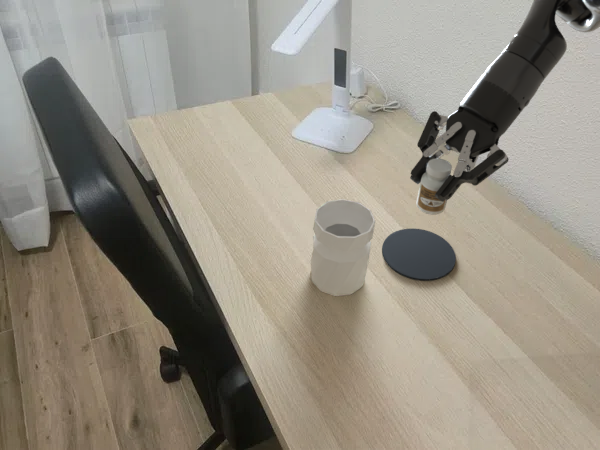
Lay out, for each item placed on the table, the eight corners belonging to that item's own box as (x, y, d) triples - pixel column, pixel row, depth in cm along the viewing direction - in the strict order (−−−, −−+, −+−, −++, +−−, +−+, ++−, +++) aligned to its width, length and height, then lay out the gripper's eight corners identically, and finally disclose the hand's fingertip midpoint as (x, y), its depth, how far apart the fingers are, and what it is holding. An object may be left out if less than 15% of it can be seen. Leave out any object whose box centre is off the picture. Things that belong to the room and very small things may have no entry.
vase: (299, 269, 87) (301, 211, 79) (343, 249, 91) (350, 192, 83) (331, 305, 82) (337, 246, 74) (377, 282, 86) (387, 224, 78)
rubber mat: (443, 228, 96) (443, 226, 95) (465, 278, 87) (465, 277, 86) (375, 231, 95) (375, 229, 94) (390, 282, 86) (391, 281, 85)
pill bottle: (414, 213, 83) (423, 171, 78) (417, 195, 86) (425, 154, 81) (444, 218, 82) (454, 176, 77) (445, 200, 85) (456, 158, 80)
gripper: (454, 61, 79) (381, 157, 82) (538, 102, 71) (453, 208, 73) (470, 86, 85) (402, 175, 88) (549, 126, 77) (471, 223, 79)
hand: (426, 189), depth 81 cm, fingers closed on pill bottle, 4 cm apart
